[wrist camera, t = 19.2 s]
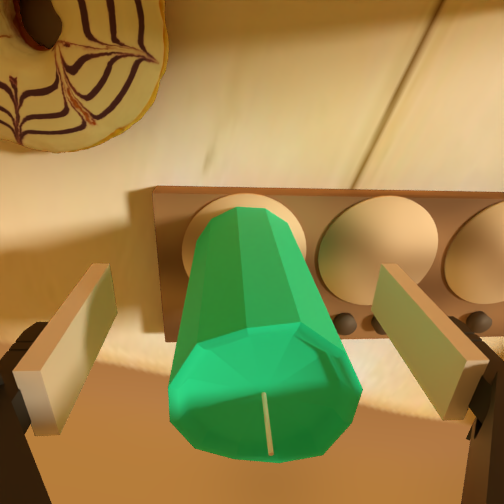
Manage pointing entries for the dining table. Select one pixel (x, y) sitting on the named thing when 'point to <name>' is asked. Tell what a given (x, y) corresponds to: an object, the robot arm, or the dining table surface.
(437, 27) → the dining table surface
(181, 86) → the dining table surface
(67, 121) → the decorated donut
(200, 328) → the candle
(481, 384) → the robot arm
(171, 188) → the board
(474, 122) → the dining table surface
